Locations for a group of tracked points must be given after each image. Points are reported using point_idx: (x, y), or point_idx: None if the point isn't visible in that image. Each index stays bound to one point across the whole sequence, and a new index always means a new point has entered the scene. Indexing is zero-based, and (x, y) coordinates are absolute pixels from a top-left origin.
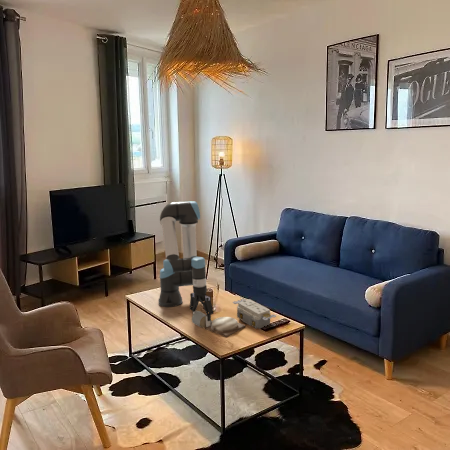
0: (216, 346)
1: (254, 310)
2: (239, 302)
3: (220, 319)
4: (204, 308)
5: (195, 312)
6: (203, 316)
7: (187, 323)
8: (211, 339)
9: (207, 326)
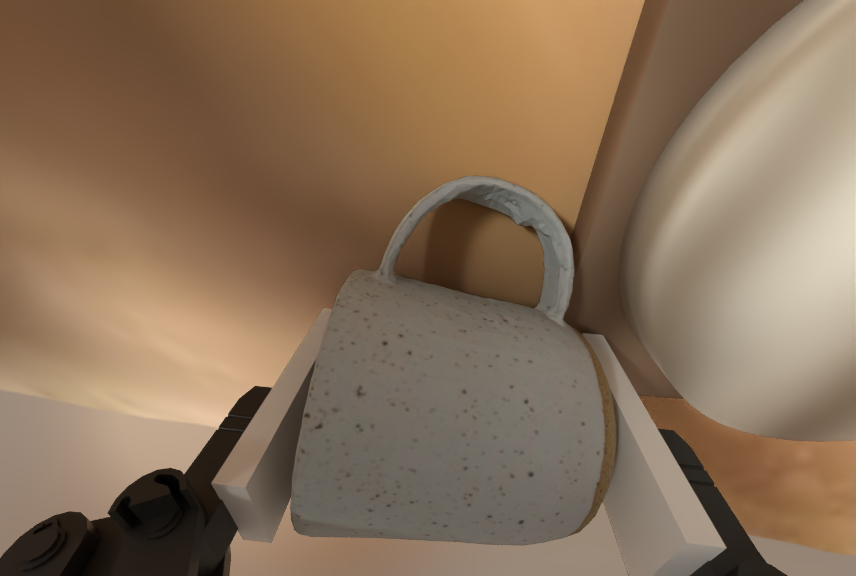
0: (795, 514)
1: None
2: None
3: (838, 203)
4: None
5: (305, 534)
6: (557, 538)
7: (258, 354)
8: (711, 468)
9: None
